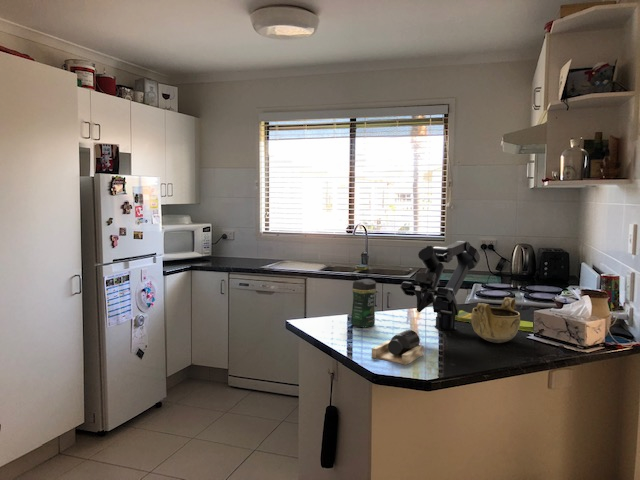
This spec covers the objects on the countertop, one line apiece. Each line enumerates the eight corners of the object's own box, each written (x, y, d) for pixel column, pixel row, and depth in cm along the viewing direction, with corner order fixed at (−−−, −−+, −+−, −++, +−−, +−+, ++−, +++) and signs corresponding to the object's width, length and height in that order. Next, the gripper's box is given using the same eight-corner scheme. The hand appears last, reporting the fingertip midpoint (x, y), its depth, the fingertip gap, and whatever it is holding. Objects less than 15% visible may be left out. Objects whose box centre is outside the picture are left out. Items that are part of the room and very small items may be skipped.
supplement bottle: (421, 350, 172) (404, 360, 162) (402, 348, 176) (385, 357, 166) (419, 330, 172) (403, 338, 162) (401, 328, 176) (384, 336, 166)
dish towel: (461, 314, 233) (461, 307, 233) (546, 327, 213) (546, 320, 212) (448, 321, 221) (448, 313, 221) (537, 335, 200) (537, 327, 200)
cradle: (389, 348, 177) (389, 339, 177) (422, 354, 171) (423, 345, 171) (371, 357, 167) (371, 348, 166) (406, 365, 160) (406, 355, 160)
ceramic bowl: (500, 351, 176) (503, 308, 175) (456, 340, 188) (458, 299, 187) (530, 340, 191) (533, 299, 190) (488, 330, 203) (490, 292, 202)
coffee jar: (363, 329, 202) (365, 281, 200) (347, 325, 207) (349, 279, 206) (378, 324, 209) (379, 279, 208) (362, 321, 214) (363, 276, 213)
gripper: (403, 260, 194) (387, 295, 187) (450, 266, 183) (435, 304, 176) (412, 277, 202) (398, 311, 195) (458, 283, 190) (444, 320, 183)
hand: (418, 311), depth 187 cm, fingers closed
